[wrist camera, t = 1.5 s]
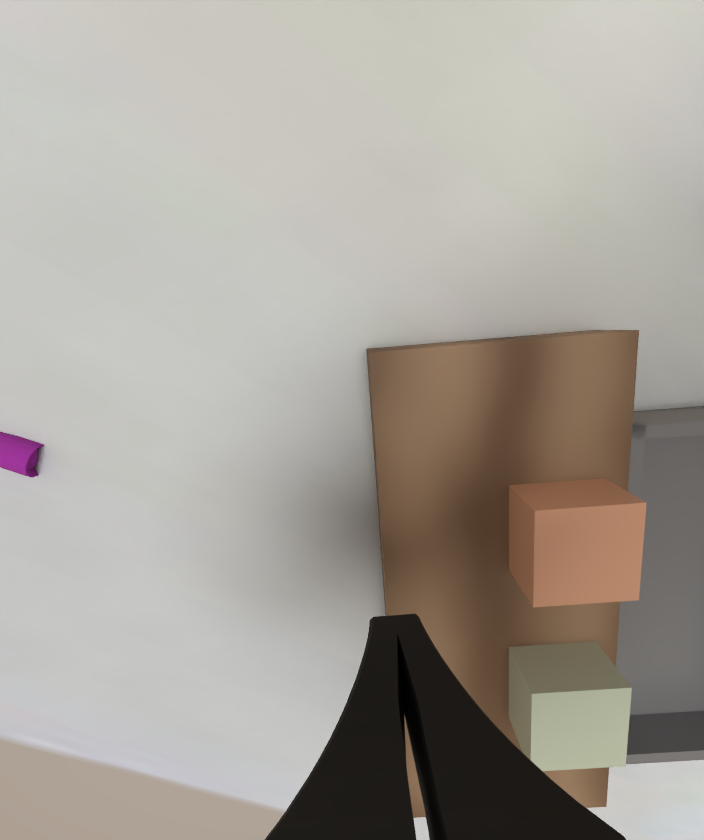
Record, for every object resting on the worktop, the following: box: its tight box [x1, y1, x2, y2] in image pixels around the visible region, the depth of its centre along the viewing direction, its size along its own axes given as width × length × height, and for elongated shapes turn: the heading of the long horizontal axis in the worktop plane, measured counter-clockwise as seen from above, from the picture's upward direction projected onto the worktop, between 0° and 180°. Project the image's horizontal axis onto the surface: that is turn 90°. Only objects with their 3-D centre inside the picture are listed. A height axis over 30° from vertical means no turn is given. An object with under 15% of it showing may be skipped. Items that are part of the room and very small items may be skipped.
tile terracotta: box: [509, 478, 647, 607], centre depth 16 cm, size 4×4×2 cm
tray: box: [616, 406, 704, 764], centre depth 20 cm, size 8×18×2 cm, turn 5°
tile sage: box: [509, 641, 632, 771], centre depth 18 cm, size 4×4×2 cm
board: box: [367, 330, 639, 818], centre depth 20 cm, size 10×24×3 cm, turn 5°
